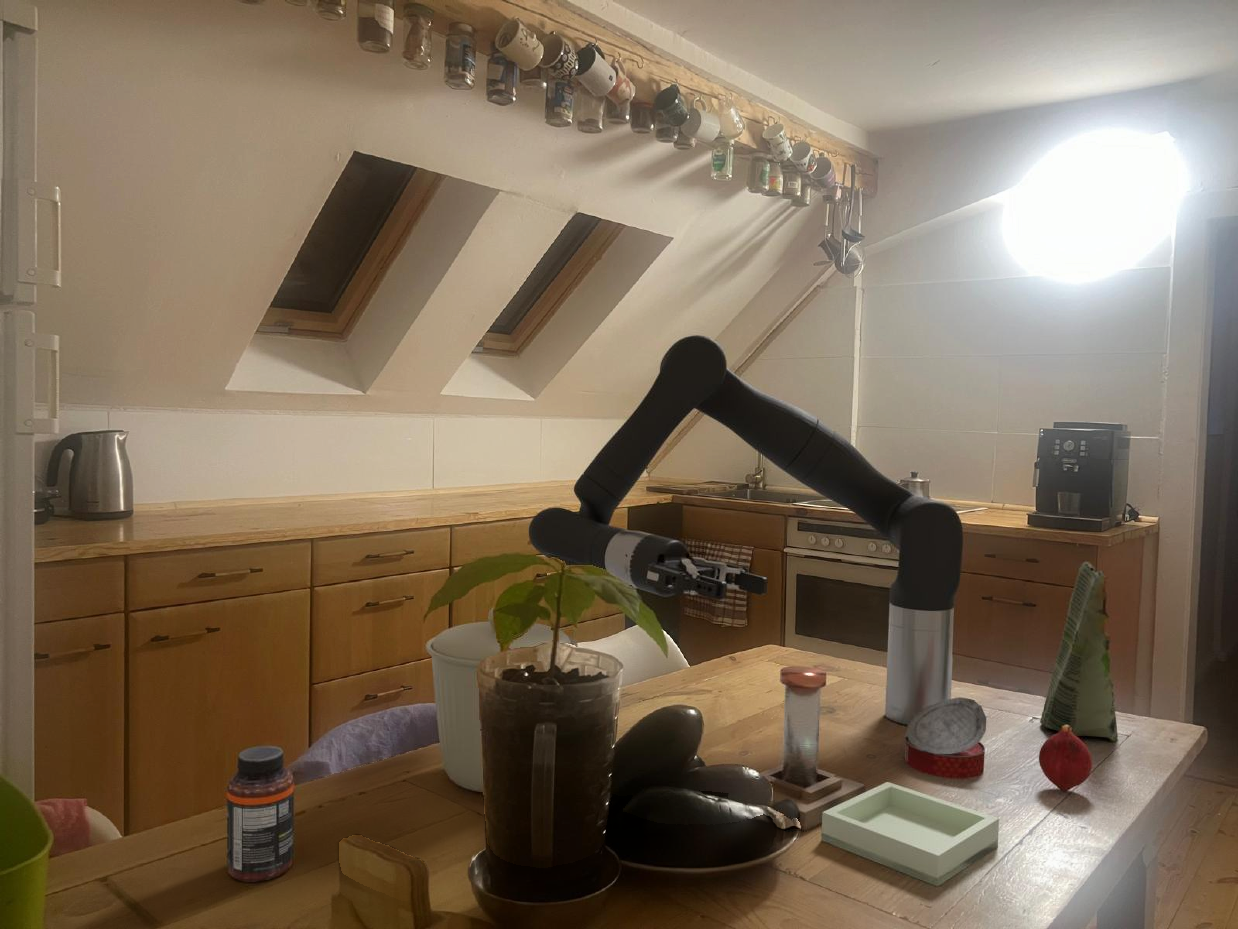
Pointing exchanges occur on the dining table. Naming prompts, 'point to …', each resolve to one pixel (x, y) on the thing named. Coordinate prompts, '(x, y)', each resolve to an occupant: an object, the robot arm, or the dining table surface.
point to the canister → (468, 691)
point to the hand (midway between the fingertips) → (745, 589)
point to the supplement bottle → (260, 816)
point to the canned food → (947, 739)
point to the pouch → (1083, 665)
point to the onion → (1065, 759)
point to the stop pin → (801, 724)
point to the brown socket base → (810, 796)
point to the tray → (911, 832)
